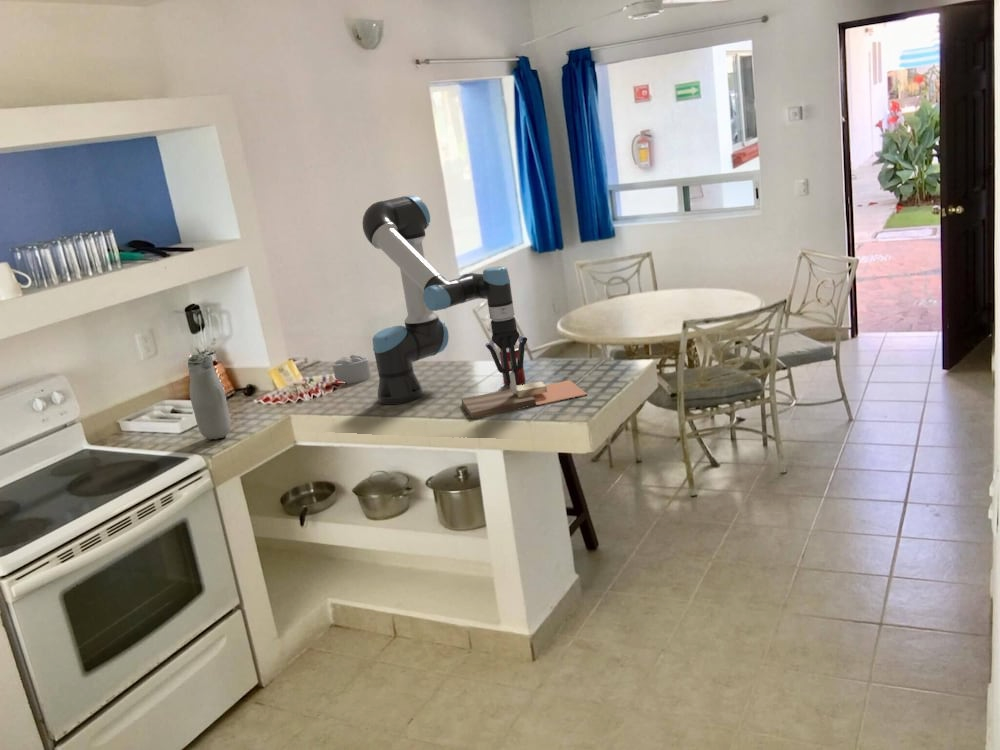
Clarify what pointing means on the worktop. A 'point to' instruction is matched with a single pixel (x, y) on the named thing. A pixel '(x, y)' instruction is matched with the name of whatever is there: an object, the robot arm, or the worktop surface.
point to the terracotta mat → (559, 392)
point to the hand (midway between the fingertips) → (514, 392)
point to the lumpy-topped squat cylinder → (352, 369)
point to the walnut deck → (495, 403)
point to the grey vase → (208, 398)
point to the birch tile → (531, 389)
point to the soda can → (520, 372)
